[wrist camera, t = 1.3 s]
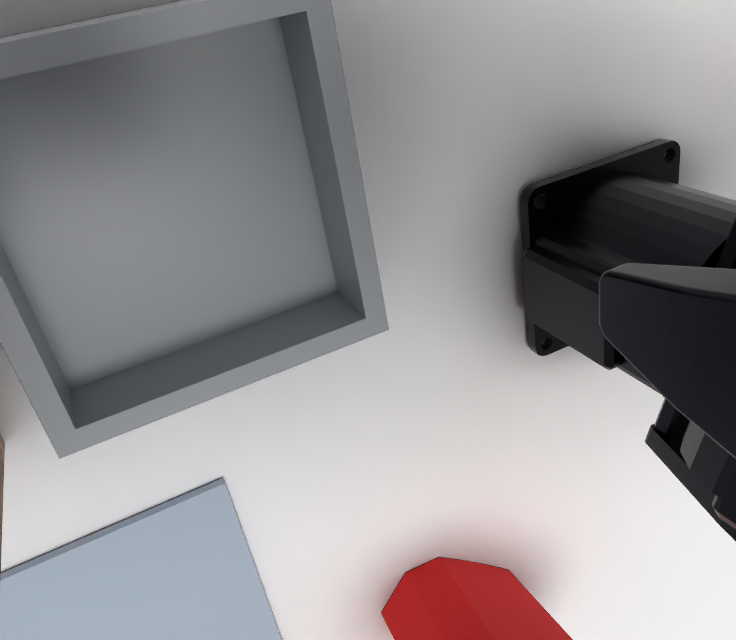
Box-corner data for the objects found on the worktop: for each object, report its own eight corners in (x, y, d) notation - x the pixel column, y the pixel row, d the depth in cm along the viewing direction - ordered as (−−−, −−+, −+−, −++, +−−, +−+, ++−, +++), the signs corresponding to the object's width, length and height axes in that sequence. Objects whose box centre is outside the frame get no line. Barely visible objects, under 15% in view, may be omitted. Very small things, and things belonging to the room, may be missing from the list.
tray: (288, -23, 17) (325, -25, 15) (352, 297, 21) (388, 329, 19) (-116, 61, 14) (-139, 72, 12) (54, 407, 18) (59, 458, 16)
